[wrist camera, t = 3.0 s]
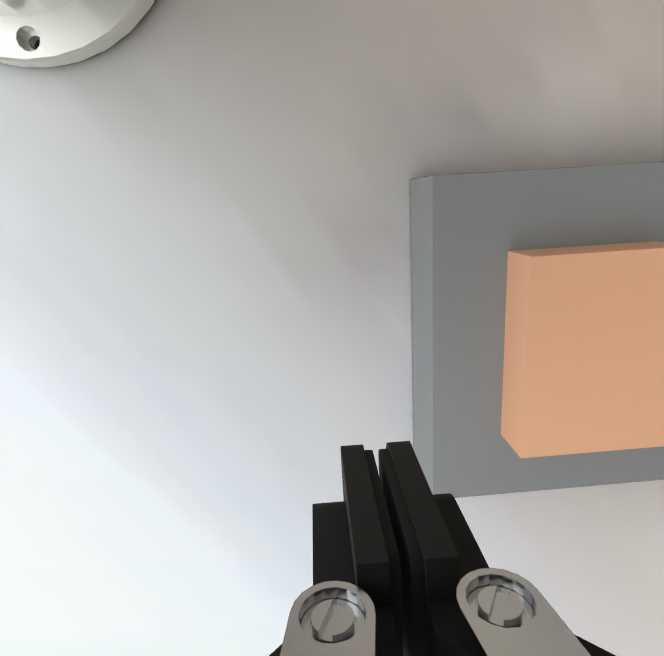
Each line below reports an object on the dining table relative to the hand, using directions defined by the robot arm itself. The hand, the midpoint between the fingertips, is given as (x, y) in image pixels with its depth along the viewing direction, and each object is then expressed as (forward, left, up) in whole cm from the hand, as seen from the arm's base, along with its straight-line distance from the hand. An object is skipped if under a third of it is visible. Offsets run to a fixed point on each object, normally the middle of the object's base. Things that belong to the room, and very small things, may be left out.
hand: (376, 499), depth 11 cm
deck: (-1, +12, -13) cm, 17 cm away
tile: (-1, +10, -9) cm, 13 cm away
